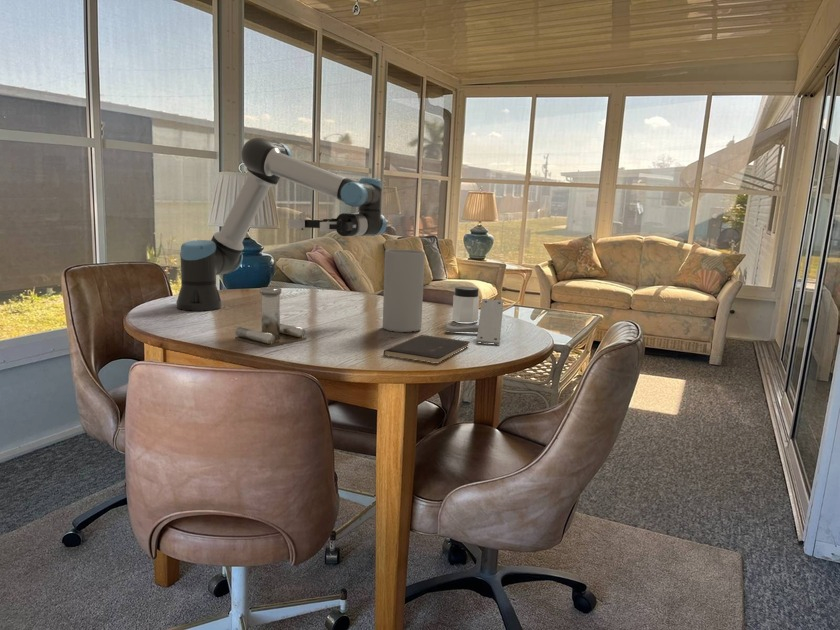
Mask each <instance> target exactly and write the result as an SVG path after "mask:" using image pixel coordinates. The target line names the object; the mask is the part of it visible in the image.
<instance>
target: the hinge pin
mask: <svg viewBox="0 0 840 630" xmlns="http://www.w3.org/2000/svg"><path fill="white" fill-rule="evenodd" d="M259 294H260V295H261V332H265V333H269V334H273V335H274V337H275V339H277V338H279V337H280V324H281V323H280V322H281V321H280V320H281V318H280V317H281V315H280V312H281V310H280V308H281V305H280V304H281V301H280V300H281V298H280V297H281V295H282V287H277V286H276V287H274V286H268V287H267V286H265V287H260V288H259ZM280 294H281V295H280Z"/></svg>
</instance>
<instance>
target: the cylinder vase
mask: <svg viewBox="0 0 840 630" xmlns="http://www.w3.org/2000/svg"><path fill="white" fill-rule="evenodd" d="M425 254H426V253H425V251H423V250H422V251H421V250H413V249H386V250H385V251H384V269H383V270H384V274H383V275H384V276H383V277H384V278H383V279H384V280H383V299H382V300H383V303H382V308H383V309H382V328H383V329H384V330H385V329H386V330H385V331H388V330H389V331H388V332H392V331H394V332H393V333H403V332H407V333H413V332H412V331H416V332H418V330H419V331H420V330H421V329H422V325H423V323H422V322H423V321H422V320H423V319H422V317H423V300H424V299H423V297H424V282H425V281H424V277H425V260H426V259H425V256H426V255H425Z"/></svg>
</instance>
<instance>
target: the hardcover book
mask: <svg viewBox="0 0 840 630" xmlns="http://www.w3.org/2000/svg"><path fill="white" fill-rule="evenodd" d="M470 343H471V342H470V341H467V340H461V339H455V338H454V339H453V338H448V337H447V338H446V337H439V336H432V335H426V334H420V335H418V336H417V335H416V336H415V337H412V338H409V339H408V340H407V339H406V340H405V341H403V342H401V343H400V342H399V343H398V344H396V345H393V346H391V347H388V348H386V349H383V354H382V355H383V356H384V355H389V356H388V357H390V356H395V357H394V358H396V357H402V358H401V359H403V358H410V359H417V360H425V361H430V362H440V361H441V360H443V359H445V358H447V357H449V356H451V355H452V354H454V353H456V352H458V351H460V350H461V349H463V348H465V347H467V346H468V347H469V344H470ZM460 352H461V351H460ZM451 357H452V356H451ZM449 358H450V357H449ZM440 363H441V362H440Z"/></svg>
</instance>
